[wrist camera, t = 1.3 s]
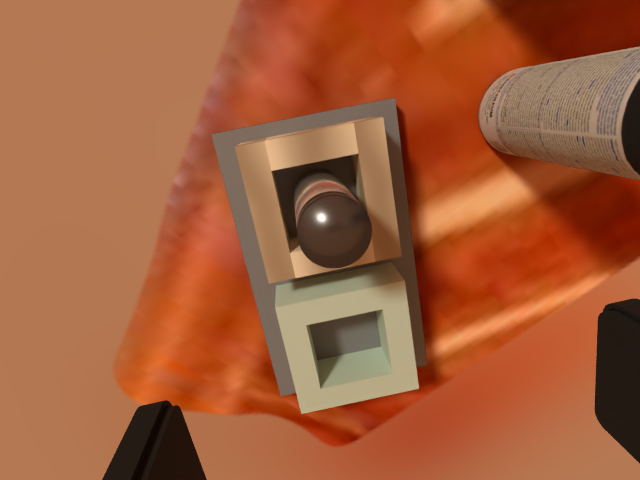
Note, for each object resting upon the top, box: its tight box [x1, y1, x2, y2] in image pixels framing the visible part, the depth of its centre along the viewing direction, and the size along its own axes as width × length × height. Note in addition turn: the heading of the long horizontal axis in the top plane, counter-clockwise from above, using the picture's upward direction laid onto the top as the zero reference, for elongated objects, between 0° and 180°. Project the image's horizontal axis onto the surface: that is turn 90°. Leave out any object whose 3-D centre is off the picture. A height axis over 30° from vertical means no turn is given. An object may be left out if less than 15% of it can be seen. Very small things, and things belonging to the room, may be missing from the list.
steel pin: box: [293, 169, 372, 268], centre depth 26 cm, size 4×4×11 cm
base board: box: [211, 98, 427, 396], centre depth 34 cm, size 14×24×2 cm, turn 11°
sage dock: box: [275, 262, 419, 414], centre depth 34 cm, size 10×10×4 cm
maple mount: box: [235, 117, 402, 284], centre depth 30 cm, size 10×10×4 cm
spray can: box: [478, 46, 640, 180], centre depth 23 cm, size 7×7×20 cm
